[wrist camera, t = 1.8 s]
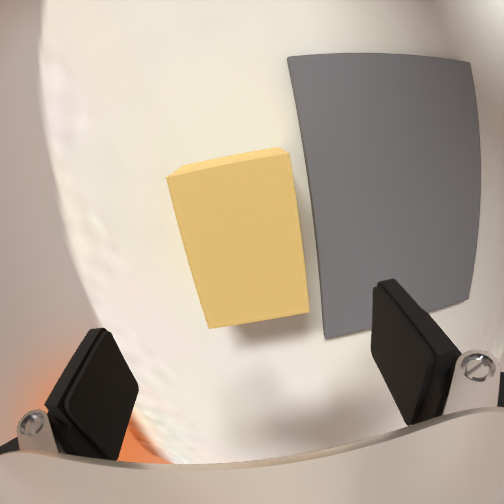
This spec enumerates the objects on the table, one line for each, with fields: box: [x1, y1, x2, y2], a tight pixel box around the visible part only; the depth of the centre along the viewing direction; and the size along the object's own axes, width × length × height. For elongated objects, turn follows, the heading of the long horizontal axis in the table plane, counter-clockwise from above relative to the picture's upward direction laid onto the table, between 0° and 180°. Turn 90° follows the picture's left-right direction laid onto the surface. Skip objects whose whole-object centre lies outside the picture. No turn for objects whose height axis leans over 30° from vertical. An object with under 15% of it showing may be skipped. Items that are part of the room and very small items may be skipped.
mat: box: [287, 53, 481, 339], centre depth 19 cm, size 20×14×1 cm
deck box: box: [166, 147, 310, 329], centre depth 18 cm, size 9×6×4 cm, turn 10°
